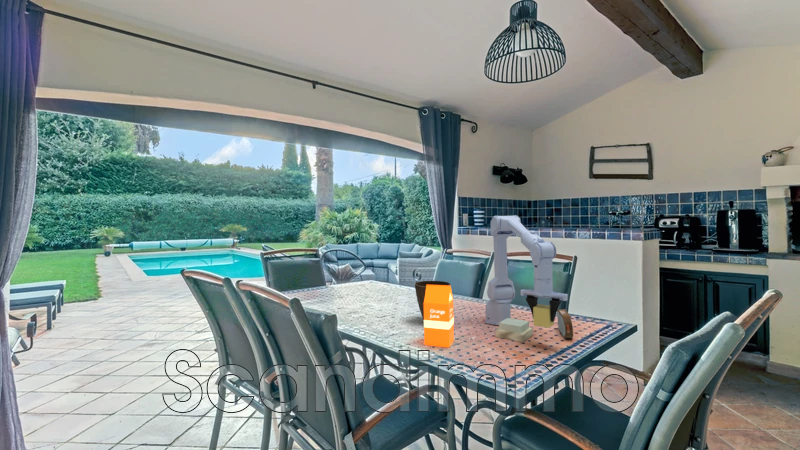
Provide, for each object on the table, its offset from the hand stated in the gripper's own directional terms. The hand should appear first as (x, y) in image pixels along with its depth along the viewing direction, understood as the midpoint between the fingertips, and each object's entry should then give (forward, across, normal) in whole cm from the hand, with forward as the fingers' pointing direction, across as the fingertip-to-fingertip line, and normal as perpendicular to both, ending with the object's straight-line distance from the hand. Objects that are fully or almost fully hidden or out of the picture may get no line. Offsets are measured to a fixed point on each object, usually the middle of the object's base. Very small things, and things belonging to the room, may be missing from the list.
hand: (543, 319), depth 117 cm
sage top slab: (+6, -12, +5) cm, 14 cm away
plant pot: (+9, -46, +3) cm, 47 cm away
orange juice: (+9, -30, -17) cm, 36 cm away
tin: (+9, +2, +17) cm, 19 cm away
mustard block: (+2, 0, 0) cm, 2 cm away
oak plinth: (+9, -12, +5) cm, 16 cm away
